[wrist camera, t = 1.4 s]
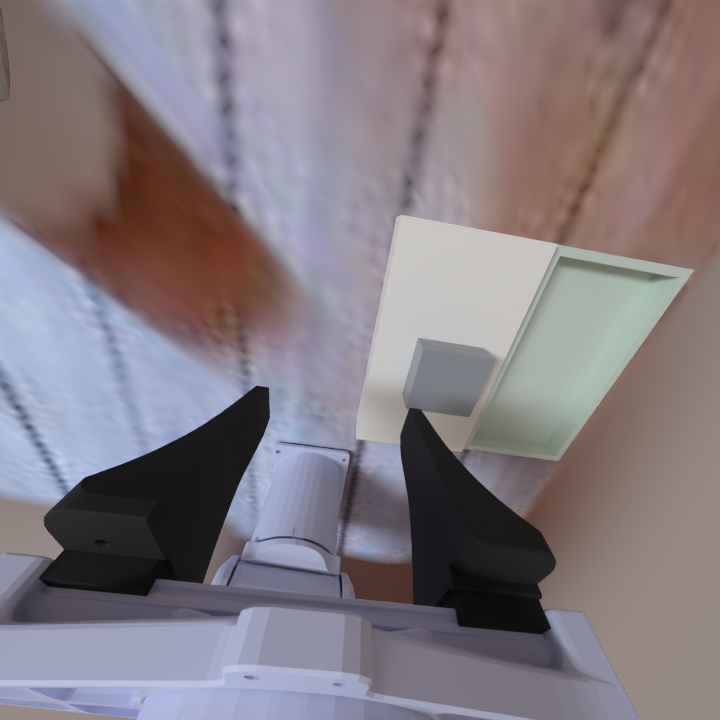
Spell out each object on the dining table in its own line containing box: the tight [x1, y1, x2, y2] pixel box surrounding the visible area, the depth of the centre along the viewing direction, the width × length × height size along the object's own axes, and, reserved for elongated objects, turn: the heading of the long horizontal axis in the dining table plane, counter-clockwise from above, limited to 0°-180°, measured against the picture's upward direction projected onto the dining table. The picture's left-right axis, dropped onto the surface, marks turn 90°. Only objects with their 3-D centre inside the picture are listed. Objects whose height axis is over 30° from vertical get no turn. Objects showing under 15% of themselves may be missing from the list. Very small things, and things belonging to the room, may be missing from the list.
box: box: [463, 245, 694, 461], centre depth 22 cm, size 18×10×2 cm, turn 171°
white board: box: [356, 215, 558, 452], centre depth 21 cm, size 18×10×2 cm, turn 171°
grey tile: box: [402, 338, 495, 417], centre depth 19 cm, size 5×5×2 cm
